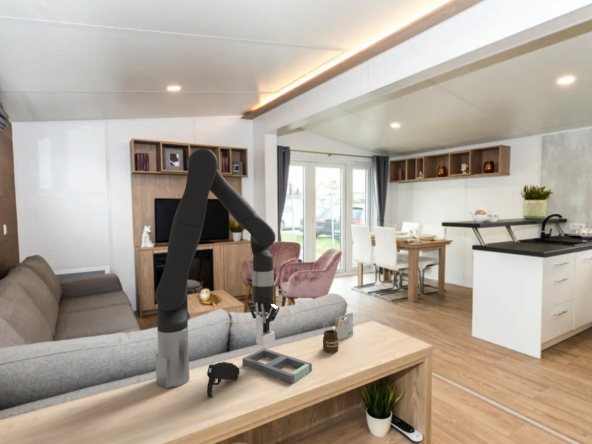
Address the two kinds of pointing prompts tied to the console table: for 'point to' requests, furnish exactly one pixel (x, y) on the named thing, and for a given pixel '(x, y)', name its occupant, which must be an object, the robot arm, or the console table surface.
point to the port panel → (277, 365)
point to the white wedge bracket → (263, 337)
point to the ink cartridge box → (344, 326)
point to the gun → (221, 374)
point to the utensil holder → (330, 339)
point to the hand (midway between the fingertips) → (263, 331)
